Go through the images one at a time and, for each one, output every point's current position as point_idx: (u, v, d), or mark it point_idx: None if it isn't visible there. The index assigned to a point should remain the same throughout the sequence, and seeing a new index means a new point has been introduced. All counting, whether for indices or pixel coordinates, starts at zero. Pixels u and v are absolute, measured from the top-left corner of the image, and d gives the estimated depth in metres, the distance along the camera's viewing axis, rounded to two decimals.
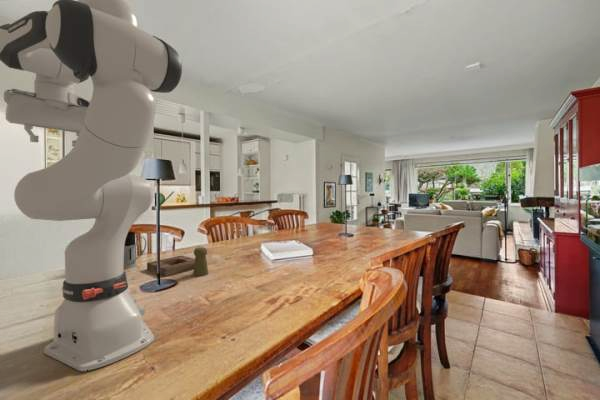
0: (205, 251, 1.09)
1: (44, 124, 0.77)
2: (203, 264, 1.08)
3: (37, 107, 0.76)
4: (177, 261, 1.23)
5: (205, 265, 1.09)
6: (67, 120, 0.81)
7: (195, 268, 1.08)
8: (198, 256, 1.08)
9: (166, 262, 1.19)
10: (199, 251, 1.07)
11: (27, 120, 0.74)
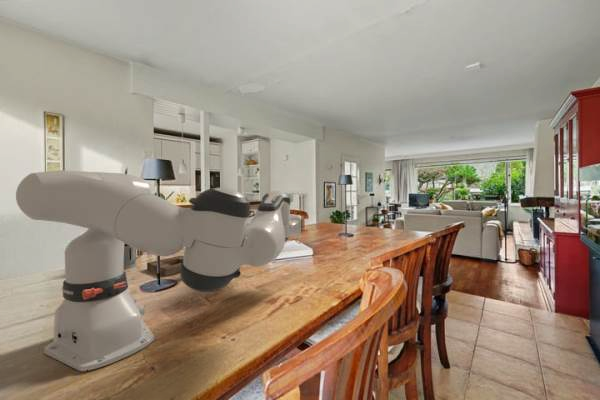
0: None
1: None
2: None
3: None
4: (177, 261, 1.23)
5: None
6: None
7: None
8: None
9: (166, 262, 1.19)
10: None
11: None
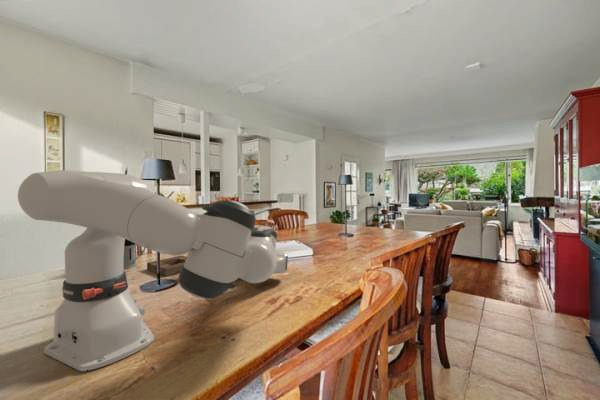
0: None
1: None
2: None
3: None
4: (177, 261, 1.23)
5: None
6: None
7: None
8: None
9: (166, 262, 1.19)
10: None
11: None
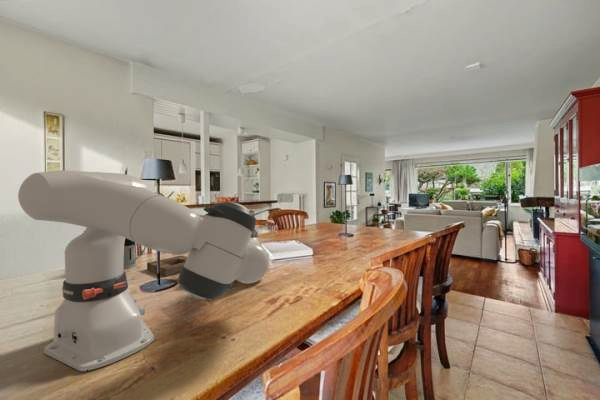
0: None
1: None
2: None
3: None
4: (177, 261, 1.23)
5: None
6: None
7: None
8: None
9: (166, 262, 1.19)
10: None
11: None
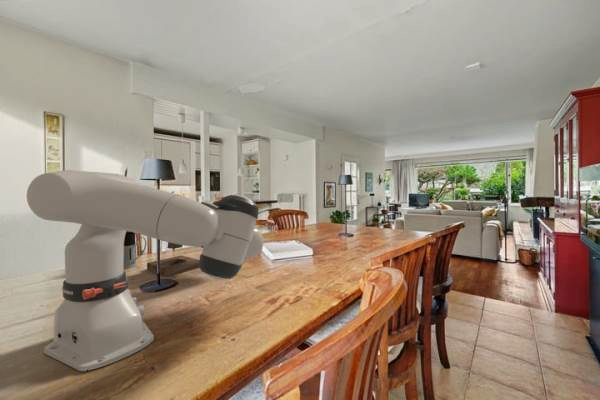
0: None
1: None
2: None
3: None
4: (177, 261, 1.23)
5: None
6: None
7: None
8: None
9: (166, 262, 1.19)
10: None
11: None
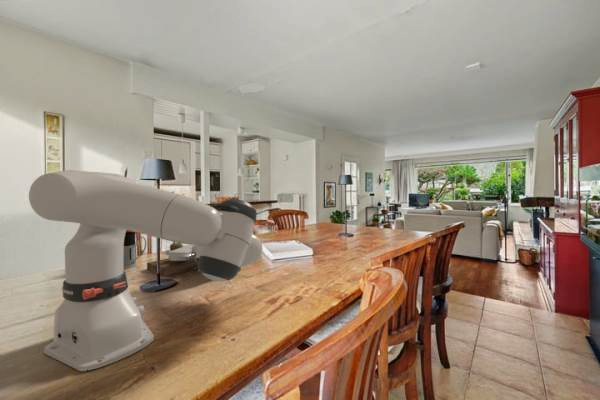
0: (180, 246, 1.17)
1: None
2: None
3: None
4: None
5: None
6: None
7: (171, 262, 1.16)
8: None
9: (166, 262, 1.19)
10: (174, 246, 1.16)
11: None
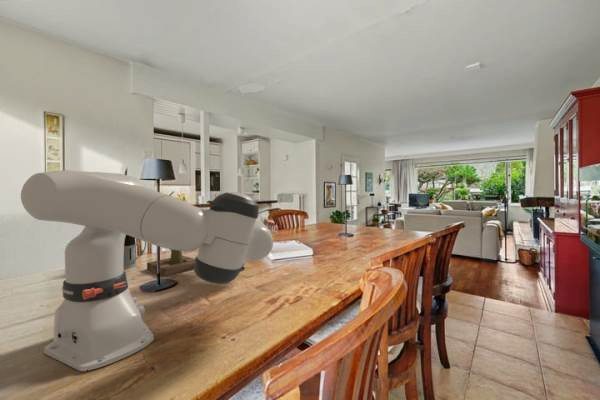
0: None
1: None
2: (179, 258, 1.17)
3: None
4: None
5: (180, 259, 1.18)
6: None
7: (171, 262, 1.16)
8: (173, 251, 1.16)
9: (166, 262, 1.19)
10: None
11: None
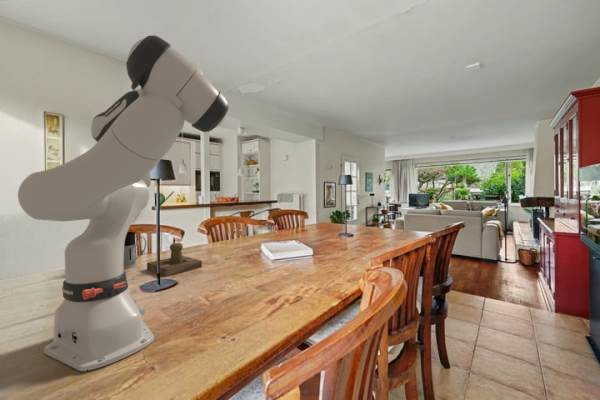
0: (180, 246, 1.17)
1: None
2: (179, 258, 1.17)
3: None
4: None
5: (180, 259, 1.18)
6: None
7: (171, 262, 1.16)
8: (173, 251, 1.16)
9: (166, 262, 1.19)
10: (174, 246, 1.16)
11: None
